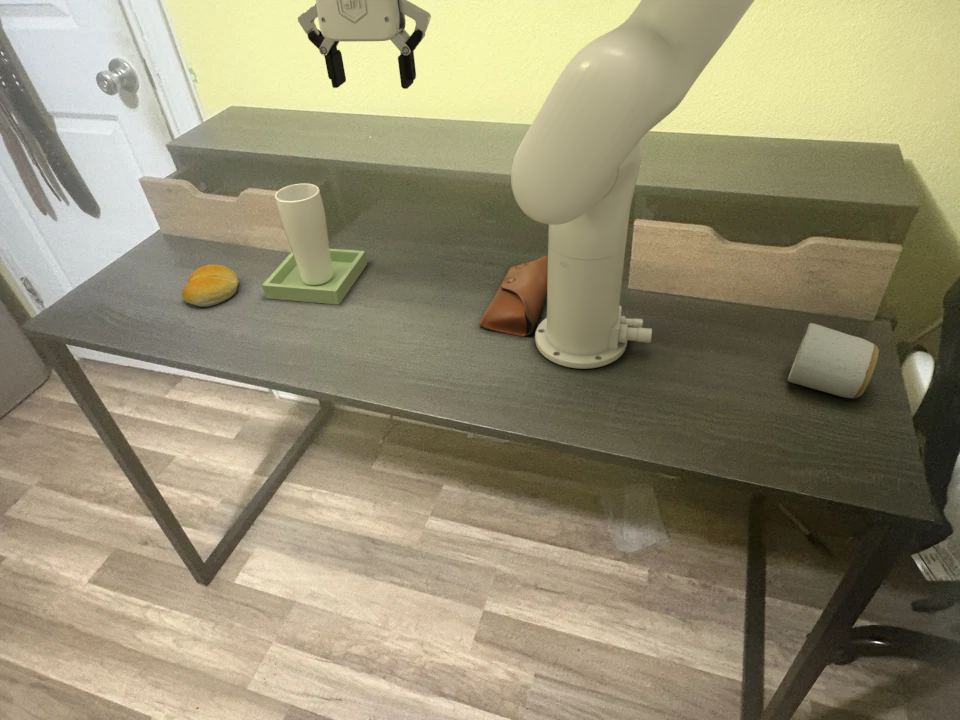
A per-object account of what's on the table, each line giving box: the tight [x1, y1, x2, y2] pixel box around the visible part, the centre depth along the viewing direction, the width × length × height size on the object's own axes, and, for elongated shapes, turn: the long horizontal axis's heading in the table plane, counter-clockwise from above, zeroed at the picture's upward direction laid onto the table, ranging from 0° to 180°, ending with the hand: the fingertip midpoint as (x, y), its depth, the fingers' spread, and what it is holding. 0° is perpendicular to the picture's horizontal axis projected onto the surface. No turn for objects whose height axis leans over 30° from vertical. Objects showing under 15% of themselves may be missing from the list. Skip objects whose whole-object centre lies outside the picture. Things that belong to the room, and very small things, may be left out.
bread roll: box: [181, 263, 240, 307], centre depth 102 cm, size 8×9×4 cm
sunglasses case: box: [478, 253, 548, 338], centre depth 96 cm, size 18×7×7 cm, turn 163°
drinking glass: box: [274, 182, 334, 285], centre depth 99 cm, size 7×7×15 cm
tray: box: [261, 248, 369, 306], centre depth 104 cm, size 13×13×2 cm
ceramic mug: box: [787, 322, 880, 399], centre depth 77 cm, size 11×8×8 cm
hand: (373, 85), depth 84 cm, fingers open, 9 cm apart
